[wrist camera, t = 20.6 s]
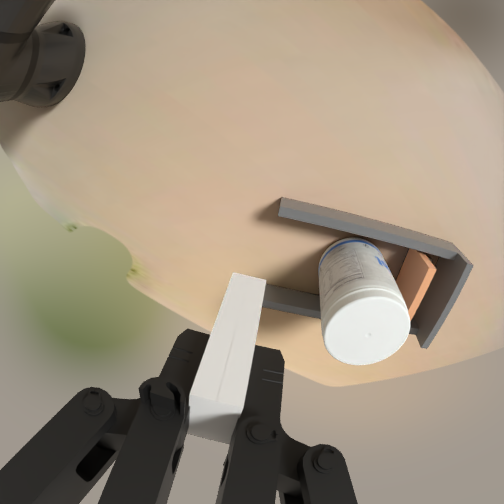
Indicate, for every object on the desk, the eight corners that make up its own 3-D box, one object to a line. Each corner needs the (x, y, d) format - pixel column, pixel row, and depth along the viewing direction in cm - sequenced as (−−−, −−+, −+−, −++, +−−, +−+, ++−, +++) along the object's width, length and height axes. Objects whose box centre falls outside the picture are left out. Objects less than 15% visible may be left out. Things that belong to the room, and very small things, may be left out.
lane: (261, 289, 44) (254, 319, 37) (281, 197, 37) (278, 214, 31) (414, 319, 42) (427, 348, 36) (452, 242, 36) (473, 265, 29)
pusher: (384, 305, 42) (394, 335, 35) (411, 243, 37) (429, 267, 30) (406, 309, 41) (418, 338, 35) (434, 249, 36) (453, 274, 30)
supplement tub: (394, 268, 39) (426, 336, 26) (343, 305, 43) (355, 379, 30) (356, 220, 37) (384, 278, 24) (302, 262, 41) (302, 333, 28)
